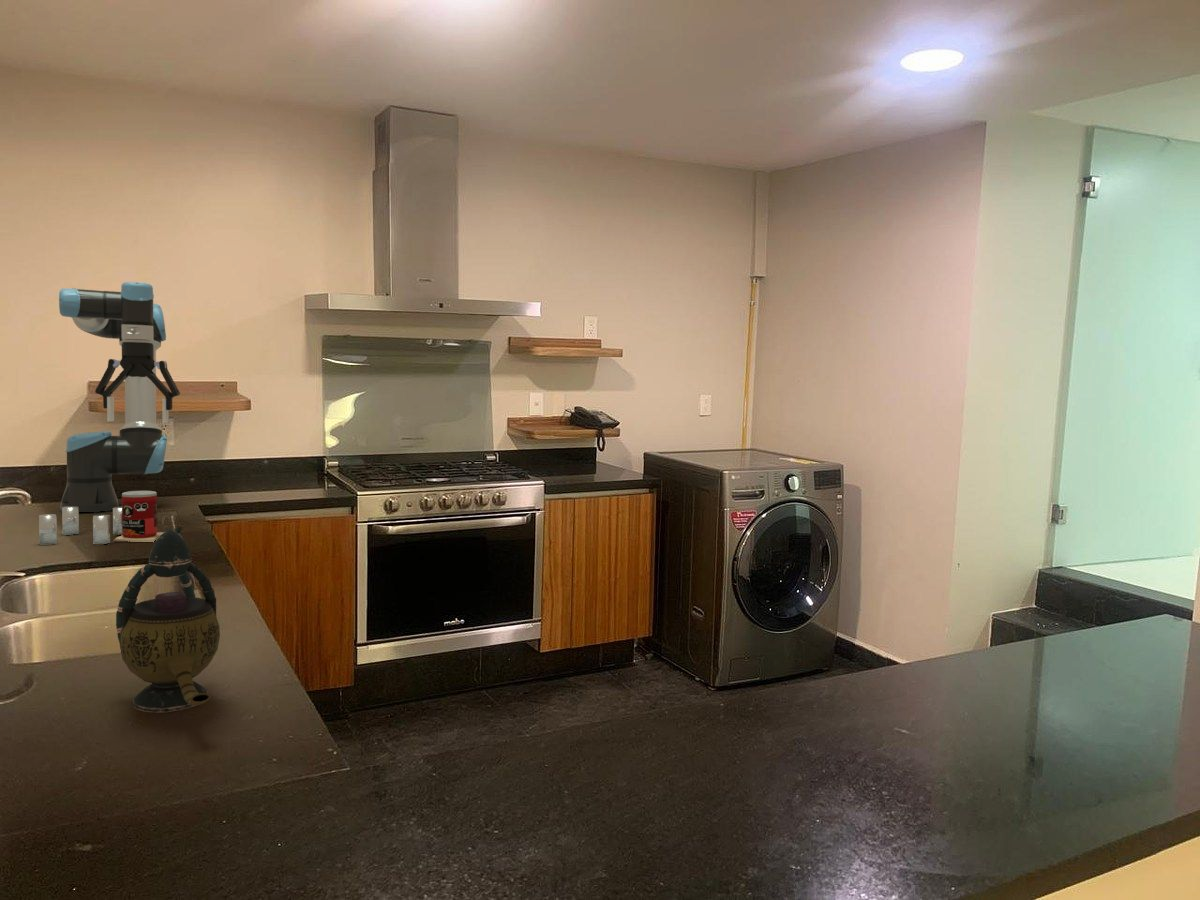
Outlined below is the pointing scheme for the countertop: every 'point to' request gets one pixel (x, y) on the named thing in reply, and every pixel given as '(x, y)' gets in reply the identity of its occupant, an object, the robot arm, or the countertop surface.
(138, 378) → the robot arm
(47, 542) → the cylinder
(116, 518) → the cylinder
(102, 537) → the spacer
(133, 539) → the coaster
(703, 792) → the countertop surface
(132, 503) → the canned food
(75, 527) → the cylinder
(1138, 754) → the countertop surface
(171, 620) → the teapot
